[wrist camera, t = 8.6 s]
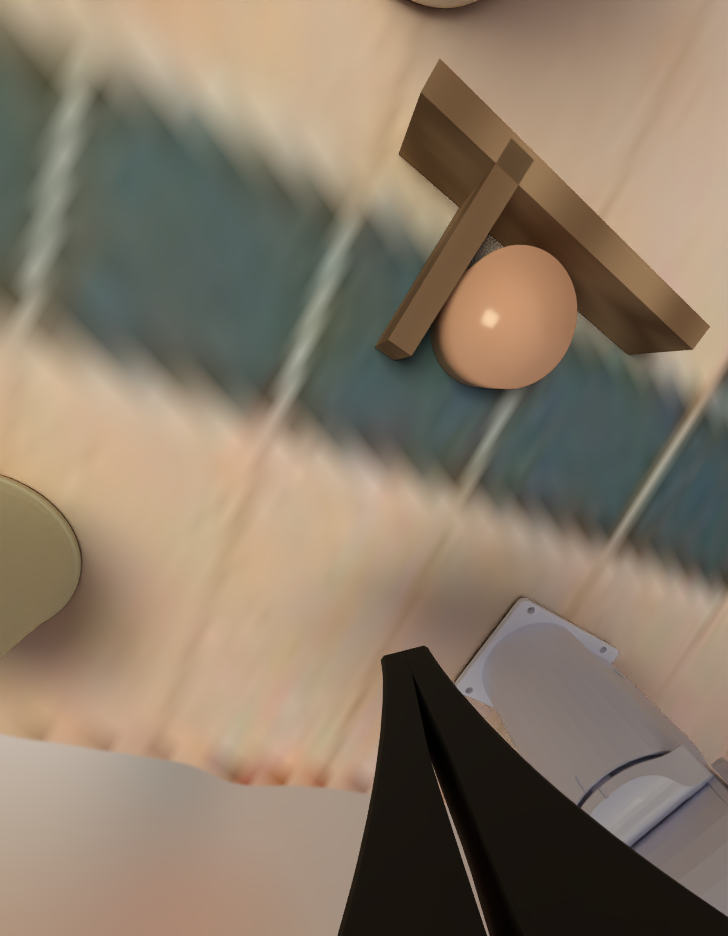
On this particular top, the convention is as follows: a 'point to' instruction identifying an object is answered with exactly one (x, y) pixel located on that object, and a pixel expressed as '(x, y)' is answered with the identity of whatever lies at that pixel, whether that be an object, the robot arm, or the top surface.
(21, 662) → the top surface
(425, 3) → the fruit juice
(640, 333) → the mortise joint
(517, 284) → the tan rounded pebble
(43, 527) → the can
